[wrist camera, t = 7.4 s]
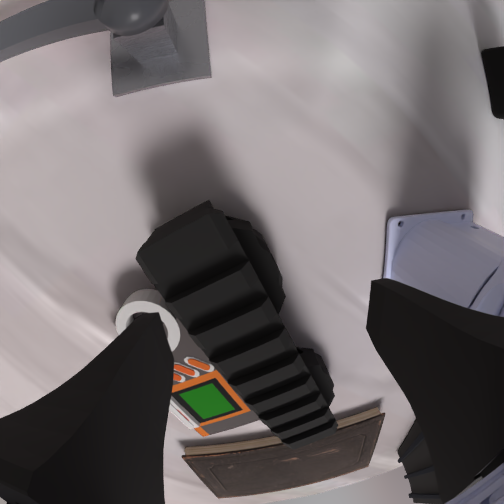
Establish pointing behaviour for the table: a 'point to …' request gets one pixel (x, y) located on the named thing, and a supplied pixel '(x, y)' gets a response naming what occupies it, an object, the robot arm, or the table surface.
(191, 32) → the pivot post
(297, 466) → the hardcover book
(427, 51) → the table surface
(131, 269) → the table surface
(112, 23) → the bar
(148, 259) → the rail mount
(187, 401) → the electronic device
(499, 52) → the battery
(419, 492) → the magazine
